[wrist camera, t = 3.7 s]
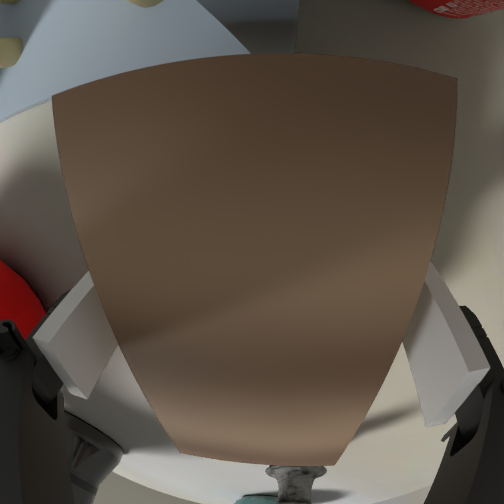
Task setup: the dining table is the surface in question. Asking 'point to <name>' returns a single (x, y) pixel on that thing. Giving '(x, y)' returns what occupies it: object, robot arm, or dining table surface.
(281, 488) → the salt shaker
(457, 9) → the beverage can
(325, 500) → the dining table surface
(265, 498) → the bowl
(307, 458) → the shelf board
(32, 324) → the tomato
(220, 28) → the peg cradle
